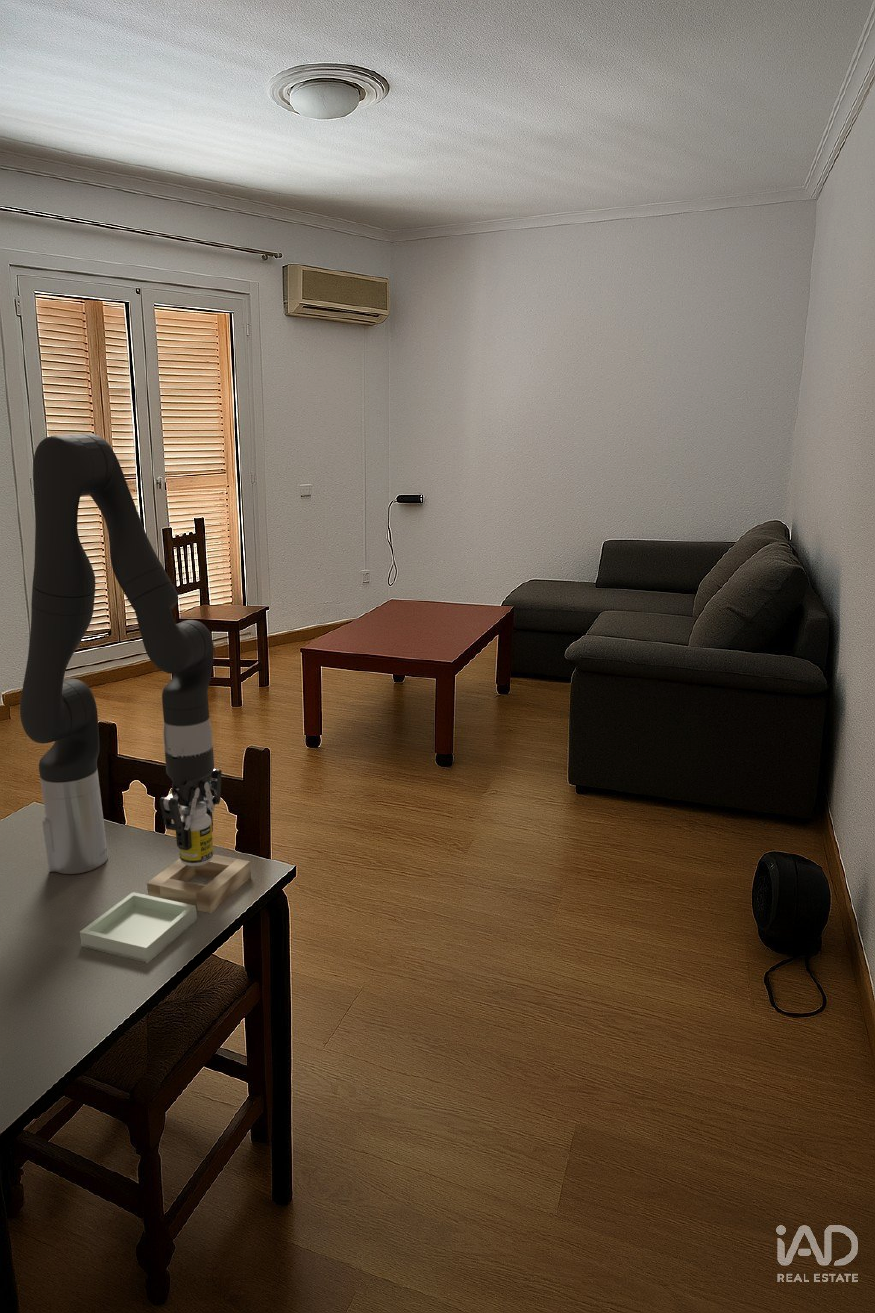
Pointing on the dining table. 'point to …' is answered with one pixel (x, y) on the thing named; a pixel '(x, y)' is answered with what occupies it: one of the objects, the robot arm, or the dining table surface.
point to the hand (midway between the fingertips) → (195, 840)
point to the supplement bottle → (198, 837)
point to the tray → (138, 927)
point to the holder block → (205, 898)
